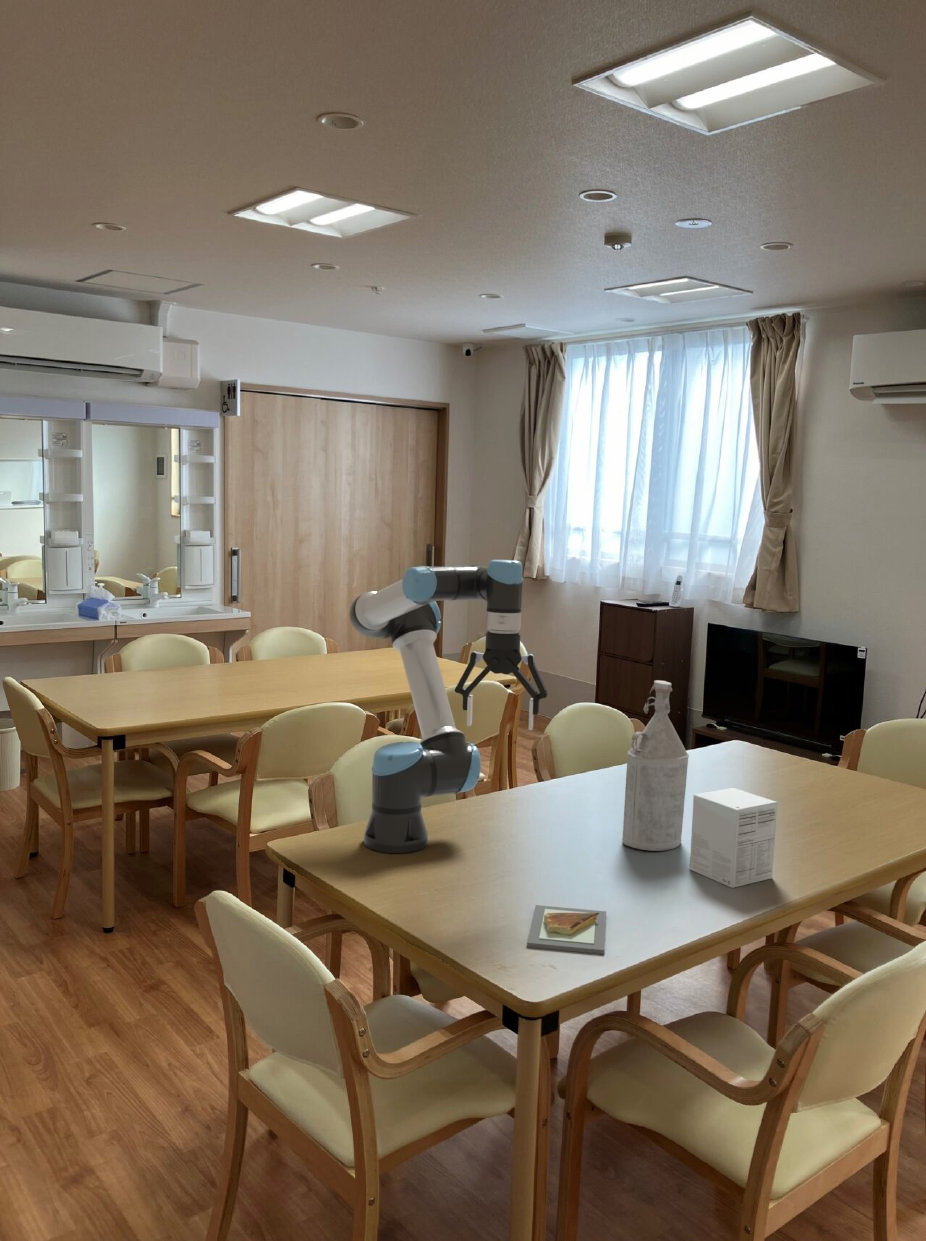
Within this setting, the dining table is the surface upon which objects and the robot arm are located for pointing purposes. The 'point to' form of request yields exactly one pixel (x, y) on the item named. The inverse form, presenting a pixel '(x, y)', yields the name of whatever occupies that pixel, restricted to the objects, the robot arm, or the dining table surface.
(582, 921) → the shard
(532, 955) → the dining table surface
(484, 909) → the dining table surface
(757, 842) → the supplement box
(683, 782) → the grey stoneware bottle
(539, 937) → the mat
